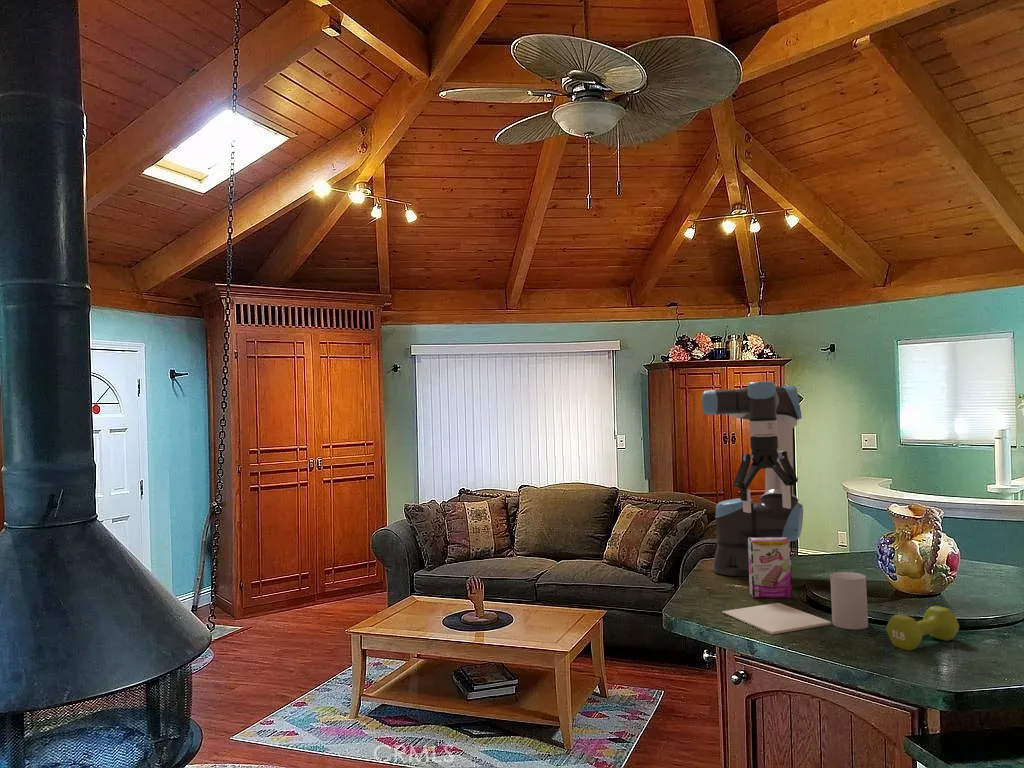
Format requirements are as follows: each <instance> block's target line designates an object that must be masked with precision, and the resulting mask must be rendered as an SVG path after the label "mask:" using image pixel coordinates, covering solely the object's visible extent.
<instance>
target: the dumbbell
mask: <svg viewBox="0 0 1024 768" xmlns="http://www.w3.org/2000/svg"><path fill="white" fill-rule="evenodd" d="M959 629H960V624H959V622H958V619H957V617H956V615H955V614H954V612H953V611H952V610H951V609H950V608H947V607H945V606H944V607H943V606H939V605H934V606H930V607H928V609H927V610H926V611H925V613H924V615H923V618H922V620H921V619H920V620H918V621H916V619H915V618H913V617H911V616H908V615H904V614H895V615H892V616H891V617H890V619H889V621H888V623H887V625H886V628H885V630H886V633H887V635H888V637H889V640H890V642H891V644H892V645H893V646H894V647H895V648H899V649H901V650H904V651H910V652H911V651H914V650H916V649H917V648H918V646H919V645H920V644H921V641H922V640H923V636H926V635H930V637H932V638H934V639H936V640H941V641H946V642H947V641H951V640H954V638H955V636H956V635H957V633H958V631H959Z"/></svg>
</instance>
